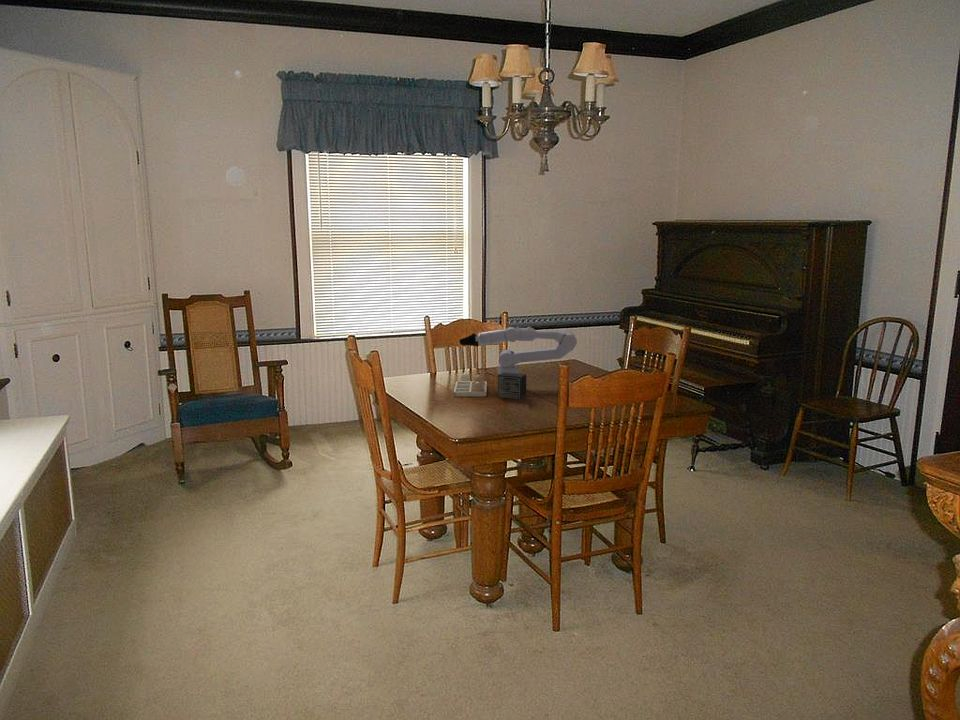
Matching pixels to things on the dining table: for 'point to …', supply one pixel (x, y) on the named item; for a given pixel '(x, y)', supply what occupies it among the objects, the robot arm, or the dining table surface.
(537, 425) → the dining table surface
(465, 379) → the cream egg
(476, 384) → the tan egg
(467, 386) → the grey divided tray
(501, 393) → the small box
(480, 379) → the tan egg
